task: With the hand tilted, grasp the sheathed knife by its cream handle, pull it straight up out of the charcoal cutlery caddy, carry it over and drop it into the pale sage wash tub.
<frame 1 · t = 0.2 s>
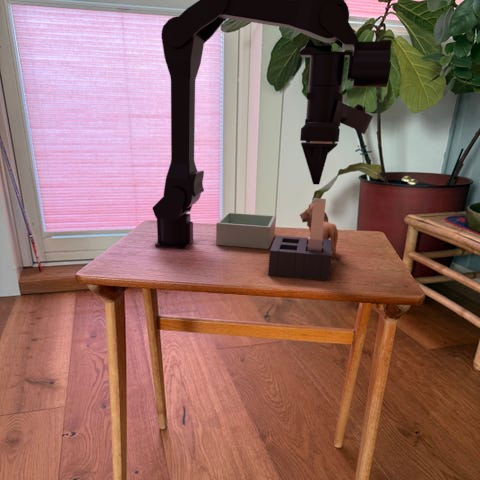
hand: (317, 180, 85), 15 cm above the table, tool pointing down, fingers open, 9 cm apart
tub: (246, 240, 100), on the table
knife: (311, 273, 81), resting in caddy
lion figurine: (319, 253, 94), on the table
caddy: (299, 268, 83), on the table
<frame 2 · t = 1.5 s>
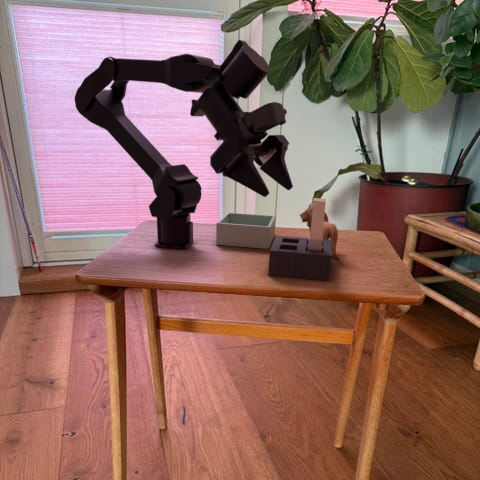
hand: (279, 191, 79), 13 cm above the table, tool tilted 45°, fingers open, 9 cm apart
nothing on the table moved.
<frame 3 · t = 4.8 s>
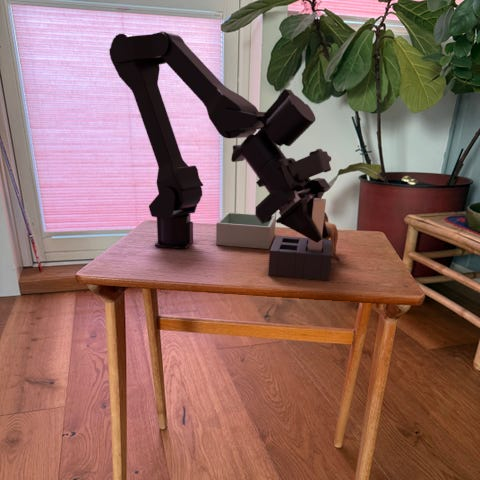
hand: (323, 239, 78), 7 cm above the table, tool tilted 45°, fingers closed on knife, 3 cm apart
knife: (311, 273, 81), resting in caddy, touching gripper
everything else where it was.
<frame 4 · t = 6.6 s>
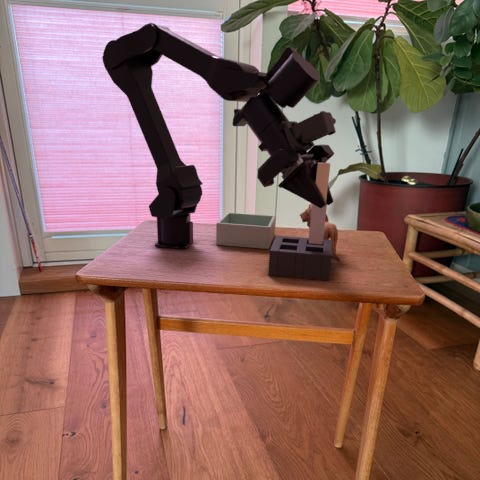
hand: (327, 205, 75), 12 cm above the table, tool tilted 45°, fingers closed on knife, 3 cm apart
knife: (315, 242, 79), point 6 cm above the table, touching gripper
everything else where it was.
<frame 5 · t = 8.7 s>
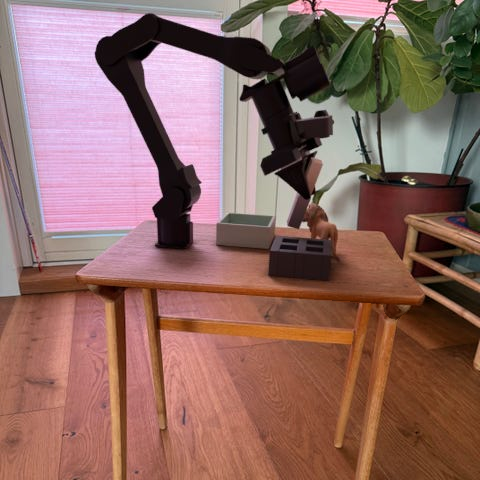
hand: (311, 196, 85), 12 cm above the table, tool tilted 30°, fingers closed on knife, 3 cm apart
knife: (292, 225, 89), point 6 cm above the table, tilted 18°, touching gripper
everything else where it was.
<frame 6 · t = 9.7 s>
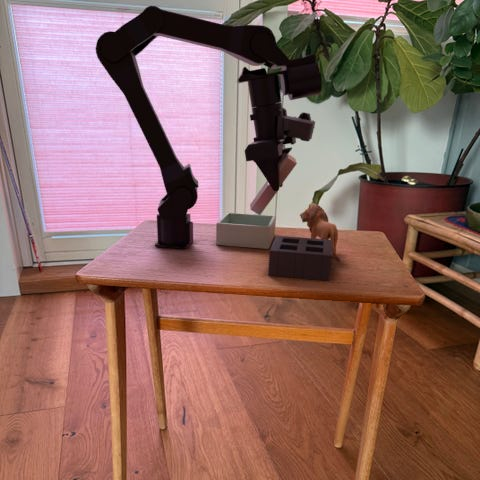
hand: (278, 188, 92), 12 cm above the table, tool pointing down, fingers closed on knife, 3 cm apart
knife: (254, 210, 96), point 7 cm above the table, tilted 34°, touching gripper
everything else where it was.
when the fingers open (9 cm above the table, at t = 12.7 s): knife drops 3 cm and tips over, resting on tub.
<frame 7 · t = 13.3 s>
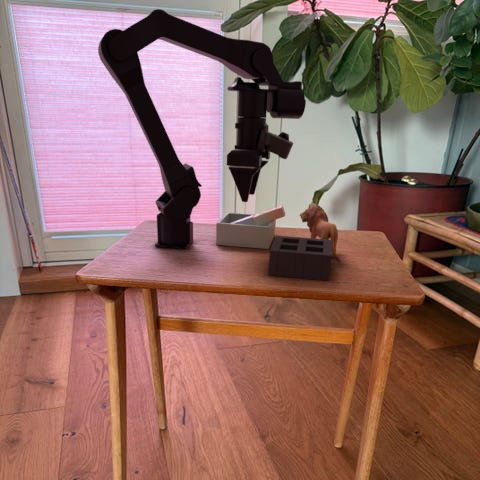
hand: (248, 198, 96), 9 cm above the table, tool pointing down, fingers open, 9 cm apart
knife: (228, 230, 101), point 2 cm above the table, tilted 67°, touching tub
everything else where it was.
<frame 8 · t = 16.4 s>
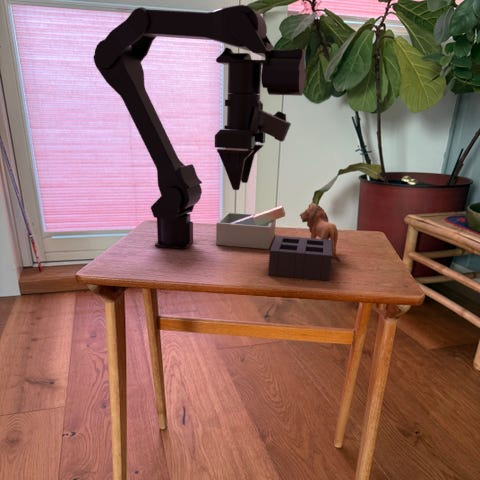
hand: (240, 186, 86), 13 cm above the table, tool pointing down, fingers open, 9 cm apart
nothing on the table moved.
at the end: knife inside the target area in the tub (4.3 cm from its centre), point 1.7 cm above the tub's base; the gripper is holding nothing; knife moved 27.5 cm from its start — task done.
